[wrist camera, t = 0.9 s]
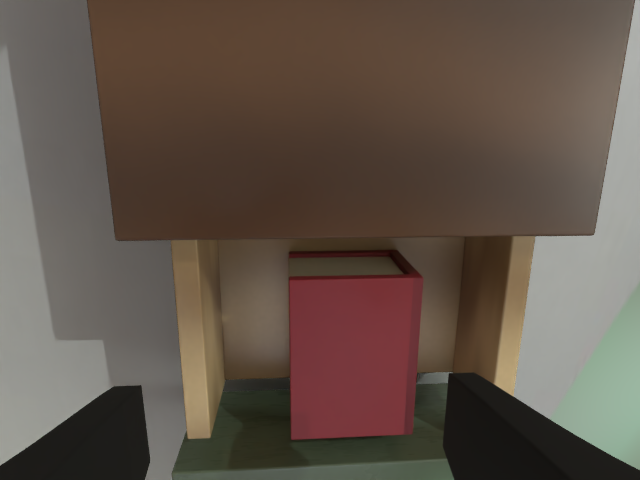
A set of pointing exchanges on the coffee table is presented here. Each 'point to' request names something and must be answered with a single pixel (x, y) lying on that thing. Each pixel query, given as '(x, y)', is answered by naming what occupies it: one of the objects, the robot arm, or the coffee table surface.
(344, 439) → the drawer
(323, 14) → the cabinet
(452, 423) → the robot arm
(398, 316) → the book
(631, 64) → the coffee table surface
